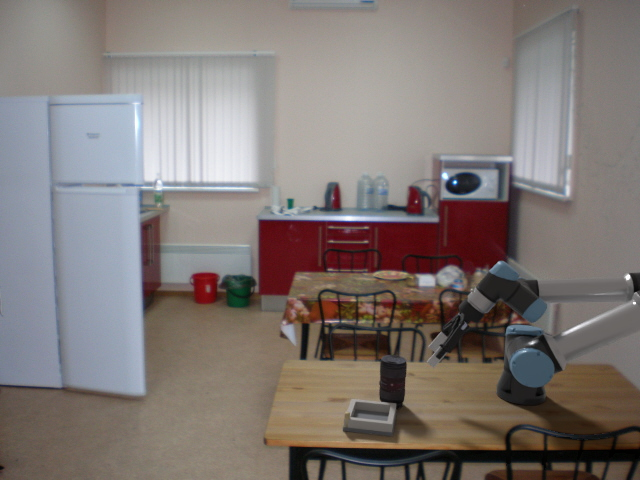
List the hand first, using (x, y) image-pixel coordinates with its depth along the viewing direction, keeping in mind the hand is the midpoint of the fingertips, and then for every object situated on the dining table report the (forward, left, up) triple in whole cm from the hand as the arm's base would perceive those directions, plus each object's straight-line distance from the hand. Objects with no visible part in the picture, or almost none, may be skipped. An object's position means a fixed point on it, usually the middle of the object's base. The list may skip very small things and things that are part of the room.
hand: (430, 356), depth 184 cm
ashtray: (+16, +17, -15) cm, 28 cm away
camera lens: (+11, +4, -16) cm, 19 cm away
